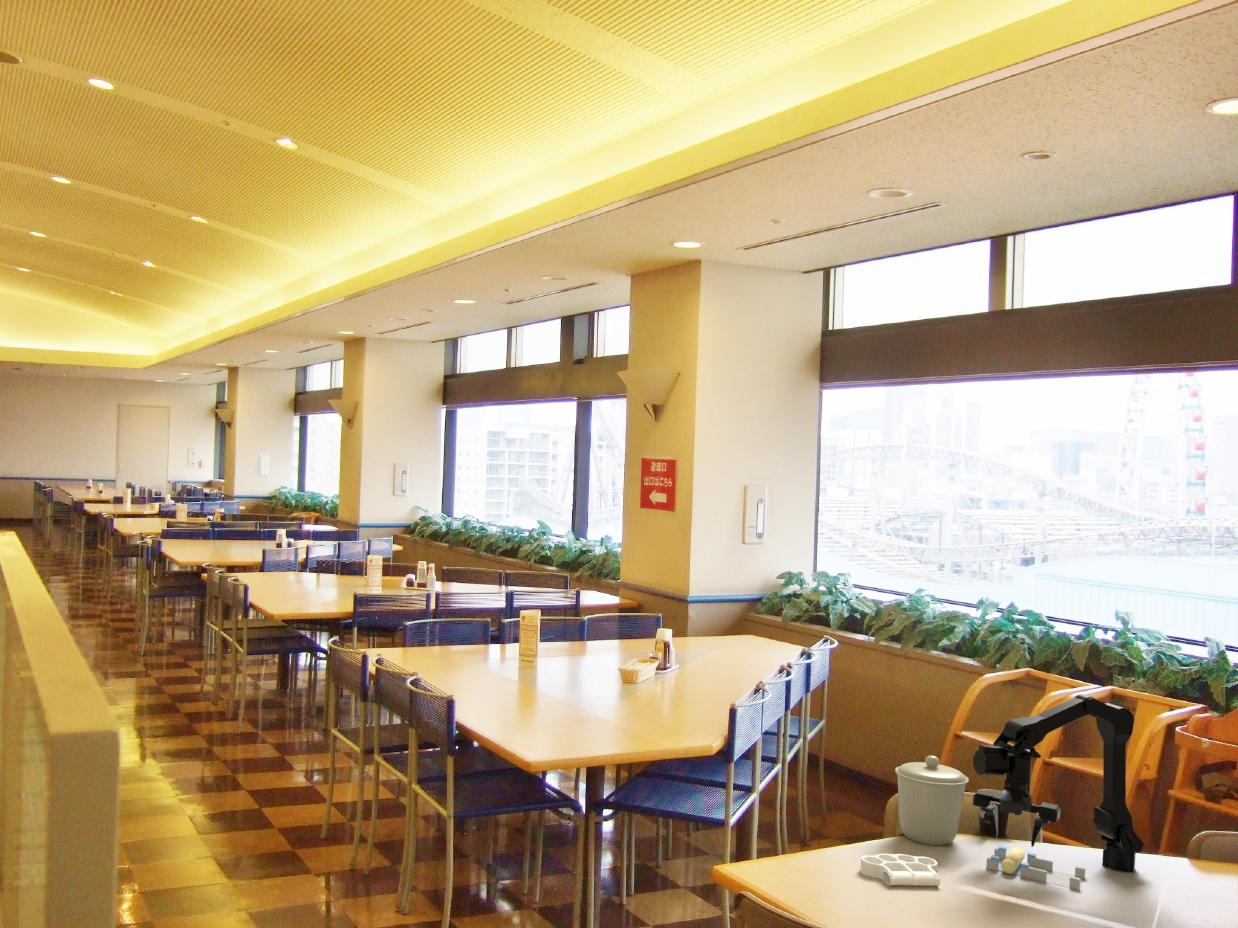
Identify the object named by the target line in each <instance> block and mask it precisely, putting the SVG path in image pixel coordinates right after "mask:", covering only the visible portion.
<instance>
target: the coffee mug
mask: <svg viewBox="0 0 1238 928" xmlns="http://www.w3.org/2000/svg"><path fill="white" fill-rule="evenodd" d="M979 790H985V791H990V792H994V793H995V797H1000V796H1001V792H1002V790H996V789H991V788H990V789H988V788H983V789H981V788H980V789H977V792H978V791H979ZM977 807H978V821H979V831H980V833H981V832H982V833H984V834H986V835H990V836H994V834H993V830H992V827H991V823H990V820H989V818H988V815H987V814H986V812H985V811H982V810H981V807H979V806H977ZM1009 815H1010V813H1007V812H1006V813H1004V812H1001V811H1000V806H998V836H997V837H1001V836H1005V835H1006V833H1007V829H1008V828H1007V827H1008V821H1009Z"/></svg>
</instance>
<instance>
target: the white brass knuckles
mask: <svg viewBox="0 0 1238 928" xmlns="http://www.w3.org/2000/svg"><path fill="white" fill-rule="evenodd" d="M938 865H939V863H938V862H937V860H936V859H934V858H931V857H929V856H922V855H921V856H916V855H915V856H914V855H910V854H906V853H905V854H903V853H896V854H895V853H893V854H891V853H878V854H876V855H867V854H865V855H863V856H861V858H860V869H859V871H860V873H861V874H863V875H865V876H867V877H871V878H876V879H880V880H882V881H884V883H885V884H886V885H887V886H889V887H892V886H898V887H899V886H902V887H904V886H906V887H908V886H909V887H935V886H937V887H939V886H941V878H940V876H939V874H938V868H939V866H938Z"/></svg>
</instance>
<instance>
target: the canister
mask: <svg viewBox="0 0 1238 928" xmlns="http://www.w3.org/2000/svg"><path fill="white" fill-rule="evenodd" d="M894 772H895V773H896V775H897V791H898V793H897V795H898V812H899V825H900V829H901V832H902V833H903V835H904V836H905V837H906V838H908V839H910V840H911V841H914V842H917V843H918V844H919V843H921V844H924V845H929V844H931V846H945V845H949V844H951V843H953V842H954V840H955V838H956V837H957V835H958V830H959V825H960V820H961V814H962V810H963V809H962V808H963V803H964V802H963V801H964V797H965V791H966V790H965V789H966V786H967V784H968V783H969V781H970V779H969V777H968V776H967V775H965V774H964V773H963V772H961V771H960V770H959V769H956V768H953V767H952V766H951V767H950V766H948V765H944V764H940V759H939V758H938V757H937V756H936V755H928V756H926V757H925V761H924V762H922V761H917V762H916V761H913V762H906V763H903V764H901V765H900V766H896V767H895V769H894Z"/></svg>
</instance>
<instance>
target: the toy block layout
mask: <svg viewBox="0 0 1238 928" xmlns="http://www.w3.org/2000/svg"><path fill="white" fill-rule="evenodd" d="M1007 849H1008V848H1007V847H1006V846H1001V845H999V846H998V847H995V848H994V851H993V852H994V855H991V856H990V857H988V856H987V858H986V864H985V865H986V866H985V867H986V869H988V870H993V871H998V872H1001V873H1005V872H1004V871H1003V870H1002V867H1001V864H1002V862H1003V860H1004V859H1005V858H1006V856H1007ZM1026 859H1027V860H1026V862H1023V861H1022V862H1021V863H1020V865H1019V866H1018V868H1017V869H1016V870H1015V872H1014V873H1012V874H1011V875H1013V876H1017V877H1022V878H1026V879H1030V880H1035V881H1039V882H1043V883H1048V884H1052V885H1056V886H1060V887H1065V888H1069V889H1073V890H1077V891H1079V890H1080V889H1081V887H1082V885H1083V883H1084V880H1085V878H1086V867H1082V866H1079V865H1076V866H1074V867H1075V869H1074V874H1071V873H1067V872H1063V871H1057V870H1054V860H1051V859H1047V858H1043V857H1039V856H1037V854H1036V853H1034V852H1028V853H1027V855H1026Z"/></svg>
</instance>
